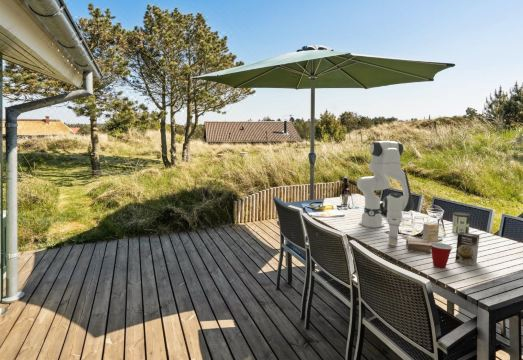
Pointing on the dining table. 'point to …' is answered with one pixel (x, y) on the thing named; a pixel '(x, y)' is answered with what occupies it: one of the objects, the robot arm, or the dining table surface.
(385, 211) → the portable speaker
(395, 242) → the maple block
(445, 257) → the plastic cup
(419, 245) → the walnut block
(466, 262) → the coffee box
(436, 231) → the supplement box
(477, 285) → the dining table surface
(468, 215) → the coffee can
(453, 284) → the dining table surface
